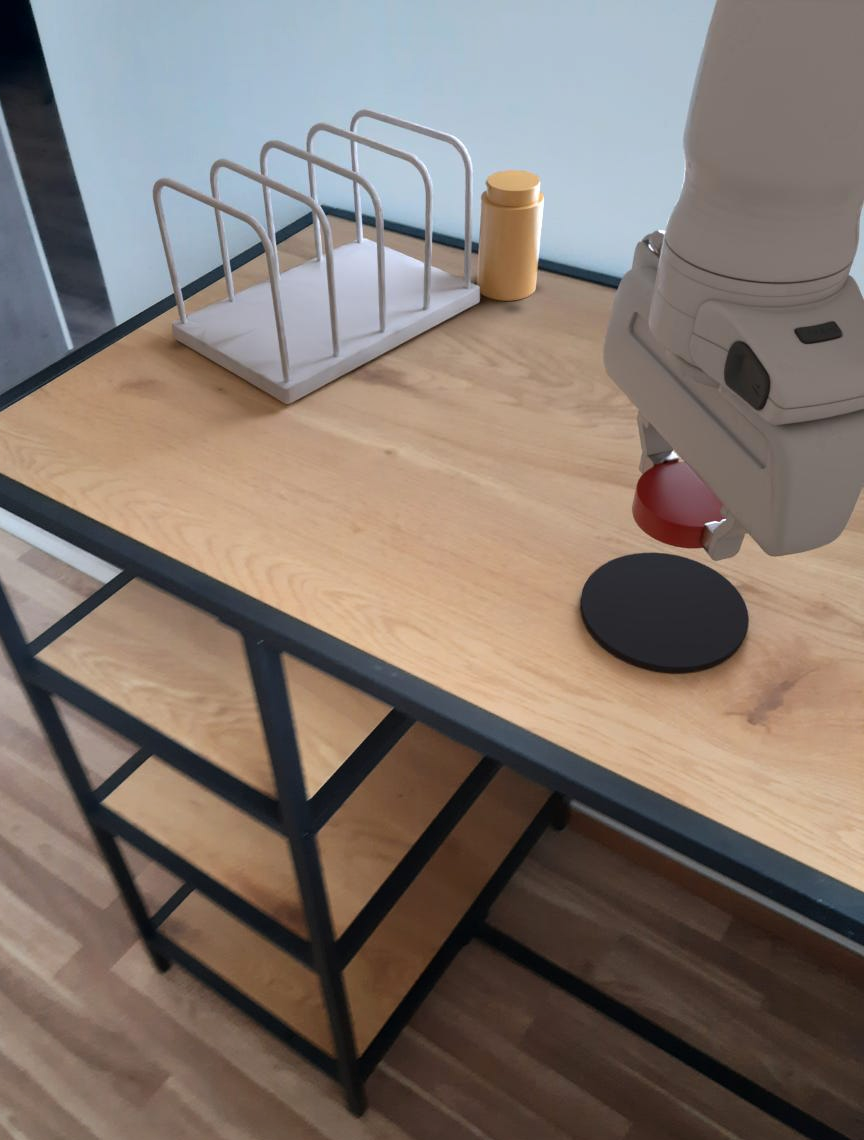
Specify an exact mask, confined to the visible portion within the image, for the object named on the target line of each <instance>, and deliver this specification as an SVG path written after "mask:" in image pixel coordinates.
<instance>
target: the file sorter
mask: <svg viewBox="0 0 864 1140" xmlns="http://www.w3.org/2000/svg"><path fill="white" fill-rule="evenodd" d="M365 117H366V118H370V119H373V120H377V121H379V122H383V123H386V124H389V125H393V126H395V127H399V128H401V129H405V130H407V131H410V132H414V133H417V134H421V135H424V136H426V137H429V138H432V139H436V140H437V141H438V140H439V141H441V142H444V143H447V144H449V145H452V146H453V148H454V149H455V150H456V151H457V152H458V153H459V155H460V156H461V159H462V162H463V165H464V172H465V181H464V182H465V183H464V184H465V187H464V188H465V190H464V196H465V197H464V202H465V203H464V250H463V251H464V253H463V254H464V257H463V274H464V275H463V276H464V278H461V277H459V276H457V275H454V274H453V273H449V272H447V271H445V270H443V269H440V268H439V267H438V268H437V267H435V266H433V265H432V257H433V255H432V254H433V252H432V251H433V228H434V227H433V226H434V186H433V185H434V184H433V181H432V177H431V175H430V172H429V170H428V168H427V166H426V165H425V163H424V162H423V161H422V159H420V158H419V157H418V156H417V155H416V154H413V153H411V152H409V151H406V150H403V149H401V148H398V147H395V146H392V145H390V144H387V143H384V142H381V141H379V140H376V139H374V138H370V137H367V136H365V135H362V134H359V133H357V131H358V123H359V121H360V120H361V119H362V118H365ZM349 126H350V127H349V129H346V128H343V127H340V126H338V125H334V124H330V123H329V122H324V121H322V122H318V123H315V124H314V125H312V126H311V127H310V129H309V131H308V132H307V136H306V143H305V144H306V150H303V149H301V148H300V147H296V146H294V145H291V144H289V143H287V142H284V141H282V140H278V139H271V140H268V141H266V142H265V143H264V144H263V145H262V147H261V150H260V153H259V168H260V172H257V171H255V170H254V169H251V168H249V167H247V166H244V165H242V164H240V163H237V162H235V161H233V160H231V159H228V158H219V159H217V160H215V161H214V162H213V164H211V167H210V172H209V184H210V190H211V195H209V194H206V193H204V192H201V191H199V190H197V189H195V188H193V187H190V186H188V185H186V184H184V183H181V182H179V181H178V180H175V179H172V178H169V177H162V178H159V179H157V180H156V181H155V182H154V183H153V188H152V200H153V201H152V202H153V205H154V210H155V215H156V220H157V225H158V228H159V229H158V230H159V233H160V237H161V242H162V246H163V250H164V255H165V259H166V263H167V264H166V265H167V268H168V272H169V277H170V281H171V285H172V290H173V294H174V298H175V303H176V304H175V305H176V308H177V312H178V317H179V318H178V319H176V320H173V321H172V322H171V328H172V333H173V338H174V339H175V340H176V341H178V342H180V343H181V344H183V345H185V346H186V347H188V348H190V349H192V350H193V351H195V352H197V353H199V354H200V355H202V356H204V357H205V358H207V359H209V360H210V361H212V362H214V363H215V364H217V365H219V366H220V367H222V368H224V369H225V370H228V371H229V372H231V373H233V374H234V375H236V376H238V377H240V378H241V379H243V380H245V381H246V382H248V383H249V384H252V385H253V386H255V387H257V388H258V389H260V390H261V391H263V392H264V393H267V394H268V395H270V396H272V397H273V398H274V399H276V400H278V401H280V402H282V403H283V404H285V405H290V404H293V403H294V402H296V401H298V400H300V399H301V398H303V397H305V396H307V395H309V394H310V393H313V392H315V391H316V390H318V389H320V388H322V387H323V386H325V385H327V384H328V383H331V382H333V381H334V380H336V379H338V378H340V377H342V376H344V375H345V374H347V373H350V372H352V371H353V370H355V369H357V368H359V367H361V366H363V365H365V364H367V363H368V362H370V361H372V360H374V359H376V358H378V357H379V356H381V355H383V354H385V353H387V352H389V351H390V350H393V349H394V348H397V347H398V346H400V345H402V344H404V343H405V342H407V341H409V340H412V339H413V338H415V337H417V336H418V335H420V334H422V333H424V332H426V331H428V330H430V329H432V328H433V327H436V326H437V325H440V324H441V323H443V322H445V321H447V320H449V319H450V318H453V317H454V316H456V315H458V314H460V313H462V312H463V311H466V310H467V309H469V308H471V307H473V306H475V305H477V304H479V303H480V301H481V300H480V299H481V293H480V287H479V286H478V285H477V284H475V283H473V282H471V281H472V247H473V245H472V243H473V242H472V241H473V196H474V195H473V190H474V189H473V188H474V187H473V185H474V176H473V175H474V174H473V173H474V172H473V163H472V159H471V155H470V152H469V150H468V149H467V147H466V146H465V144H464V143H463V142H462V141H461V140H460V139H459V138H457V137H456V136H455V135H452V134H450V133H447V132H444V131H440V130H437V129H435V128H431V127H428V126H425V125H421V124H419V123H416V122H412V121H409V120H407V119H403V118H400V117H396V116H393V115H390V114H386V113H383V112H380V111H377V110H373V109H370V108H363V109H360V110H358V111H357V112H355V113H354V115H353V117H352V118H351V121H350V125H349ZM319 131H322V132H323V131H324V132H326V133H330V134H332V135H334V136H338V137H341V138H343V139H346V140H349V142H350V156H351V169H349V168H347V167H345V166H342V165H340V164H338V163H335V162H333V161H330V160H328V159H325V158H323V157H320V156H318V155H316V154H315V151H314V149H315V148H314V143H315V137H316V135H317V133H319ZM358 144H360V145H363V146H366V147H368V148H370V149H374V150H376V151H379V152H382V153H384V154H387V155H389V156H392V157H395V158H398V159H401V160H404V161H406V162H408V163H410V164H411V165H412V166H413V167H415V168H416V170H418V173H419V174H420V176H421V178H422V180H423V185H424V190H425V192H424V193H425V224H424V225H425V226H424V259H423V261H424V262H423V261H421V260H419V259H417V258H414V257H411V256H410V255H407V254H404V253H402V252H400V251H397V250H395V249H392V248H390V247H388V246H385V225H384V224H385V223H384V210H383V205H382V201H381V199H380V196H379V194H378V192H377V190H376V188H375V186H374V185H373V183H371V181H370V180H369V179H368V178H366V177H365V176H364V175H362V174H360V169H359V168H360V167H359V153H358V152H359V151H358ZM271 149H276V150H279V151H282V152H284V153H286V154H289V155H292V156H293V157H297V158H299V159H302V160H303V161H306V162H307V171H308V173H307V174H308V181H309V195H308V194H306V193H304V192H302V191H299V190H298V189H295V188H292V187H291V186H288V185H286V184H284V183H282V182H280V181H278V180H276V179H273V178H271V177H269V170H268V169H269V168H268V156H269V152H270V150H271ZM316 166H317V167H320V168H323V169H325V170H327V171H330V172H332V173H334V174H336V175H339V176H341V177H343V178H346V179H349V180H351V181H352V188H353V202H354V203H353V204H354V217H355V231H356V238H355V239H353V240H351V241H349V242H347V243H344V244H341V245H340V246H338V247H336V248H334V245H333V236H332V231H331V225H330V223H329V219H328V218H327V215H326V214H325V213H326V212H325V211H324V210H323V208H322V207H321V205H320V204H319V200H318V189H317V188H318V187H317V178H316V177H317V176H316ZM221 168H225V169H227V170H230V171H232V172H235V173H237V174H239V175H241V176H244V177H246V178H248V179H250V180H252V181H255V183H256V182H257V183H259V184H261V186H262V193H263V203H264V211H265V218H266V219H265V220H266V227H267V231H266V229H265V228H264V227H263V225H262V224H261V223H260V221H259V220H257V219H256V218H255V217H254V216H253V215H251V214H250V213H248V212H246V211H243V210H242V209H239V208H237V207H235V206H233V205H231V204H229V203H225V202H224V201H222V200H221V195H220V188H219V181H218V177H219V172H220V169H221ZM360 186H361V187H362V188H363V189H364V190H365V191H366V193H367V194H368V195H369V198H370V199H371V201H372V205H373V209H374V214H375V216H374V217H375V237H376V242H375V241H373V240H371V239H369V238H366V237H364V233H363V217H362V216H363V215H362V202H361V187H360ZM164 187H167V188H170V189H172V190H174V191H176V192H178V193H180V194H183V195H185V196H187V197H190V198H192V199H194V200H197V201H199V202H201V203H203V204H205V205H206V206H209V207H212V208H213V210H214V216H215V222H216V228H217V233H218V234H217V235H218V239H219V240H218V242H219V248H220V252H221V253H220V254H221V261H222V266H223V272H224V280H225V285H226V291H227V297H226V298H223V299H221V300H219V301H216V302H213V303H212V304H209V305H207V306H205V307H203V308H201V309H199V310H196V311H194V312H191V313H189V314H187V315H186V307H185V302H184V297H183V293H182V289H181V284H180V280H179V276H178V270H177V266H176V262H175V257H174V253H173V250H172V245H171V239H170V235H169V230H168V226H167V222H166V217H165V212H164V207H163V201H162V200H163V199H162V190H163V188H164ZM271 189H272V190H274V191H276V192H279V193H281V194H282V195H285V196H287V197H289V198H292V199H294V200H295V201H298V202H300V203H302V204H305V205H306V206H307V207H309V208H310V209H311V215H312V226H313V236H314V246H315V257H314V258H312V259H309V260H307V261H305V262H302V263H300V264H298V265H296V266H294V267H292V268H289V269H287V270H285V271H283V272H281V273H280V266H279V265H280V264H279V257H278V248H277V240H276V231H275V223H274V216H273V215H274V213H273V207H272V197H271ZM223 213H224V214H227V215H229V216H231V217H233V218H235V219H238V220H240V221H242V222H243V223H246V224H248V226H250V227H251V228H252V229H253V230H254V231H255V233H256V234H257V236H258V238H259V239H260V241H261V244H262V246H263V249H264V253H265V258H266V263H267V270H268V276H269V277H268V278H267V279H265V280H263V281H261V282H258V283H256V284H254V285H252V286H249V287H248V288H245V289H243V290H241V291H238V292H235V288H234V287H235V286H234V282H233V276H232V274H233V273H232V268H231V263H230V262H231V261H230V257H229V249H228V244H227V237H226V231H225V224H224V223H225V222H224V216H223ZM321 230H322V233H323V234H322V233H321ZM322 235H323V241H324V252H325V253H323V247H322Z"/></svg>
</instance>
